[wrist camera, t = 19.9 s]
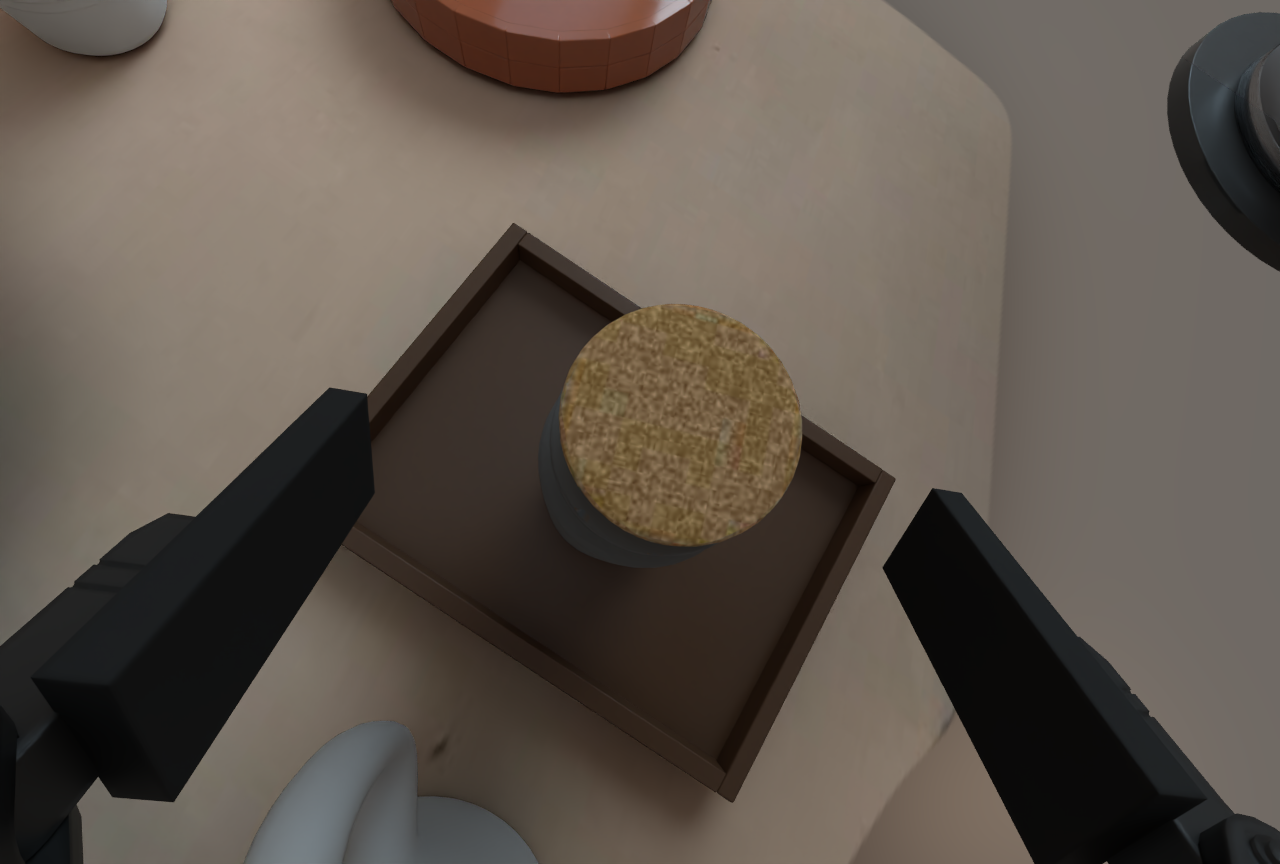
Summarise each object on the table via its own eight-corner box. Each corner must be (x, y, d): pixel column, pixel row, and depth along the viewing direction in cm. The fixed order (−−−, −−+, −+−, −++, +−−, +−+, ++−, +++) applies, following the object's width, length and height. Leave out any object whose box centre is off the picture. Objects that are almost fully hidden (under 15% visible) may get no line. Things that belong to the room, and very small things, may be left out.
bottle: (591, 408, 25) (633, 221, 11) (696, 474, 25) (879, 378, 11) (520, 514, 24) (459, 466, 9) (632, 584, 24) (744, 645, 9)
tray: (871, 483, 27) (896, 478, 25) (718, 781, 23) (733, 804, 21) (517, 246, 27) (513, 221, 25) (302, 506, 23) (277, 502, 21)
